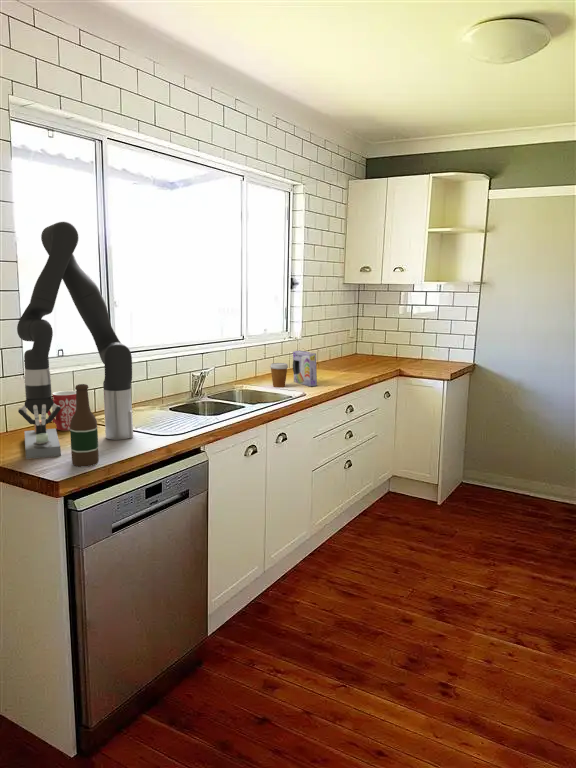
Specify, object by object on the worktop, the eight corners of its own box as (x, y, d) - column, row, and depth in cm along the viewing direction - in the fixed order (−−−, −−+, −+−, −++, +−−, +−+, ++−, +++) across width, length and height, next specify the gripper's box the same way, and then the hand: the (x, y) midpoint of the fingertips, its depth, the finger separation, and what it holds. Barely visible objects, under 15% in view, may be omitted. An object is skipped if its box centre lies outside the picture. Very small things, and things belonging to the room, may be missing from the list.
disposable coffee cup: (281, 388, 305) (281, 365, 303) (266, 386, 310) (266, 364, 308) (291, 386, 313) (291, 363, 311) (276, 384, 318) (276, 362, 316)
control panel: (56, 436, 208) (55, 428, 207) (61, 456, 185) (60, 446, 184) (25, 439, 203) (24, 430, 203) (26, 459, 180) (25, 450, 180)
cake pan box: (291, 381, 327) (292, 350, 324) (299, 381, 329) (300, 349, 326) (309, 387, 310) (309, 353, 307) (317, 386, 313) (317, 353, 310)
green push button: (48, 438, 186) (48, 432, 186) (48, 441, 183) (48, 435, 183) (36, 440, 185) (35, 433, 185) (36, 442, 182) (35, 436, 181)
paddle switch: (46, 429, 204) (45, 419, 203) (46, 430, 201) (45, 421, 201) (34, 430, 202) (34, 420, 202) (34, 431, 200) (34, 422, 199)
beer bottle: (82, 458, 182) (78, 382, 178) (104, 460, 180) (100, 383, 176) (66, 465, 175) (61, 386, 171) (88, 468, 173) (84, 387, 169)
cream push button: (48, 440, 191) (47, 434, 190) (48, 443, 187) (48, 437, 187) (36, 441, 189) (35, 435, 189) (36, 444, 186) (35, 438, 186)
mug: (70, 424, 226) (68, 389, 223) (85, 427, 221) (83, 392, 218) (40, 430, 215) (37, 394, 213) (55, 434, 210) (52, 397, 208)
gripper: (59, 379, 191) (62, 431, 194) (14, 382, 186) (18, 435, 189) (61, 383, 184) (64, 437, 187) (14, 385, 179) (18, 441, 182)
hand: (41, 436), depth 188 cm, fingers closed
